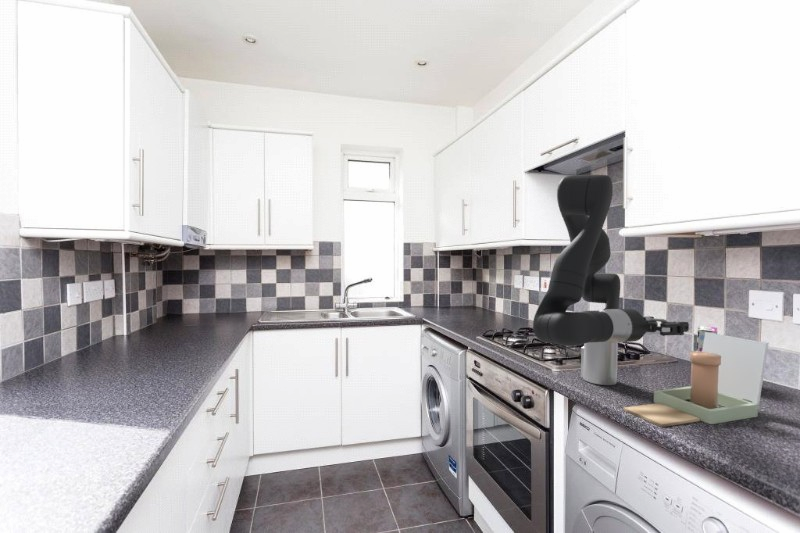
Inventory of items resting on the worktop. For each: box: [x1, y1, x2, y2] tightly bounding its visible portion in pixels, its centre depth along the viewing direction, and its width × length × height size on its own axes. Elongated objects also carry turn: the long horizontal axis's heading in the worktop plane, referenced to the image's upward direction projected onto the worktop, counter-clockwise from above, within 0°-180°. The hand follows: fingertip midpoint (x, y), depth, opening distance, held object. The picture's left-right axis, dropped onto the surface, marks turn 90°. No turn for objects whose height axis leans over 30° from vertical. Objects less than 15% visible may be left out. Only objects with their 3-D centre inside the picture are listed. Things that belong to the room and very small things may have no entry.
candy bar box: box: [696, 325, 718, 351], centre depth 121 cm, size 11×5×16 cm, turn 141°
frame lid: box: [702, 332, 769, 405], centre depth 100 cm, size 14×3×15 cm, turn 18°
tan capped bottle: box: [689, 350, 721, 409], centre depth 97 cm, size 6×6×14 cm
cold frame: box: [653, 385, 759, 425], centre depth 97 cm, size 14×16×3 cm
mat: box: [623, 402, 701, 428], centre depth 93 cm, size 10×12×1 cm
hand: (669, 323), depth 93 cm, fingers open, 8 cm apart
